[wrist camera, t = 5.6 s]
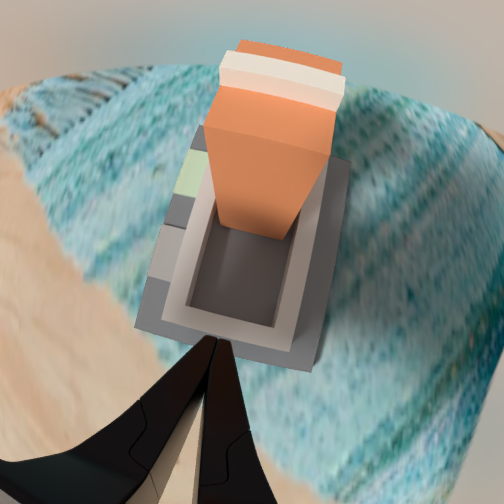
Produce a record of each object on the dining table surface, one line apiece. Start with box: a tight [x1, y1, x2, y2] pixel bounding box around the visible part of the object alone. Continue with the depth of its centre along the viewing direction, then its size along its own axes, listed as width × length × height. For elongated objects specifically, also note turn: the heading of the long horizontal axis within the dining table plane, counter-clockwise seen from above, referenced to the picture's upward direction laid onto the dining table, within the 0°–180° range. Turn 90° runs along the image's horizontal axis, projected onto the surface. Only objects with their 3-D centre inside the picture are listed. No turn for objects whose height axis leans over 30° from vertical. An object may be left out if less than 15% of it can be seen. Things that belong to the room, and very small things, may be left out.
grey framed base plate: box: [134, 125, 351, 373], centre depth 17 cm, size 13×10×2 cm
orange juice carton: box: [203, 40, 346, 241], centre depth 13 cm, size 4×4×10 cm
